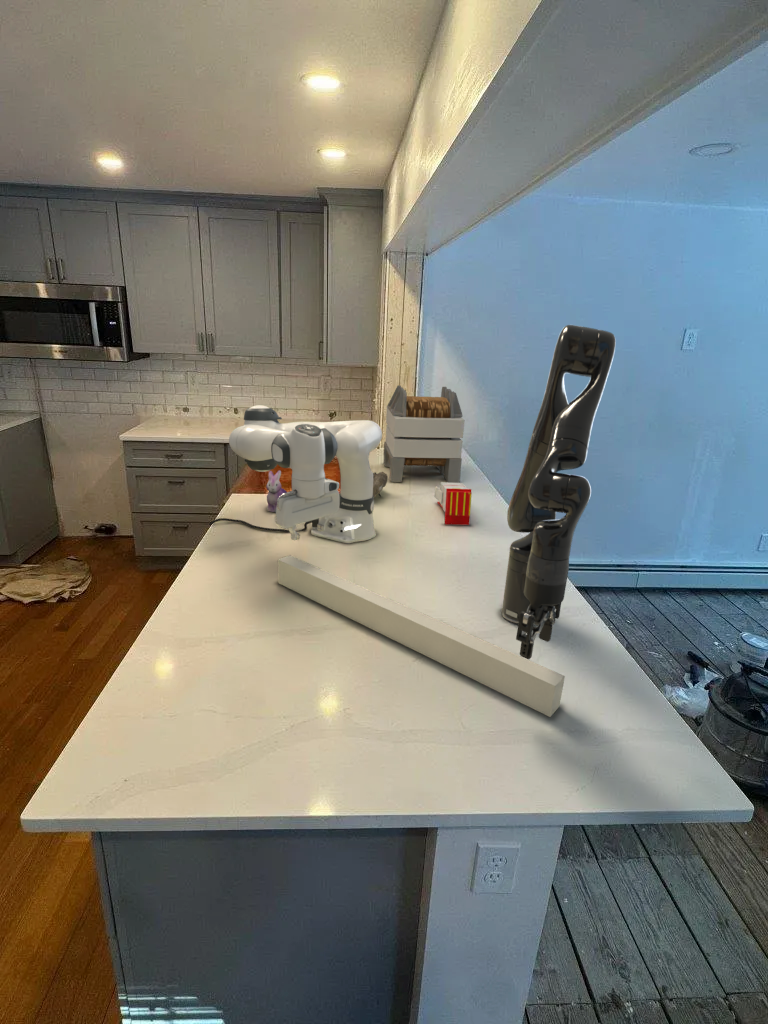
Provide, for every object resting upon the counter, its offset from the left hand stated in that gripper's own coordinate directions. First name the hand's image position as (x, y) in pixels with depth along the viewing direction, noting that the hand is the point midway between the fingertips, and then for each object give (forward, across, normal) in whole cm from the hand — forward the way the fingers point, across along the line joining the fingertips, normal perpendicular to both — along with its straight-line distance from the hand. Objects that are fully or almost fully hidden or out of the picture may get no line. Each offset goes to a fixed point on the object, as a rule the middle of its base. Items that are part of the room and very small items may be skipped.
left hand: (308, 534), depth 156 cm
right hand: (+3, -1, -69) cm, 69 cm away
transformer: (+15, +116, +51) cm, 128 cm away
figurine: (+15, +34, +56) cm, 67 cm away
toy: (+15, +81, +7) cm, 83 cm away
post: (+15, -2, -34) cm, 38 cm away
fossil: (+15, +72, +42) cm, 85 cm away
